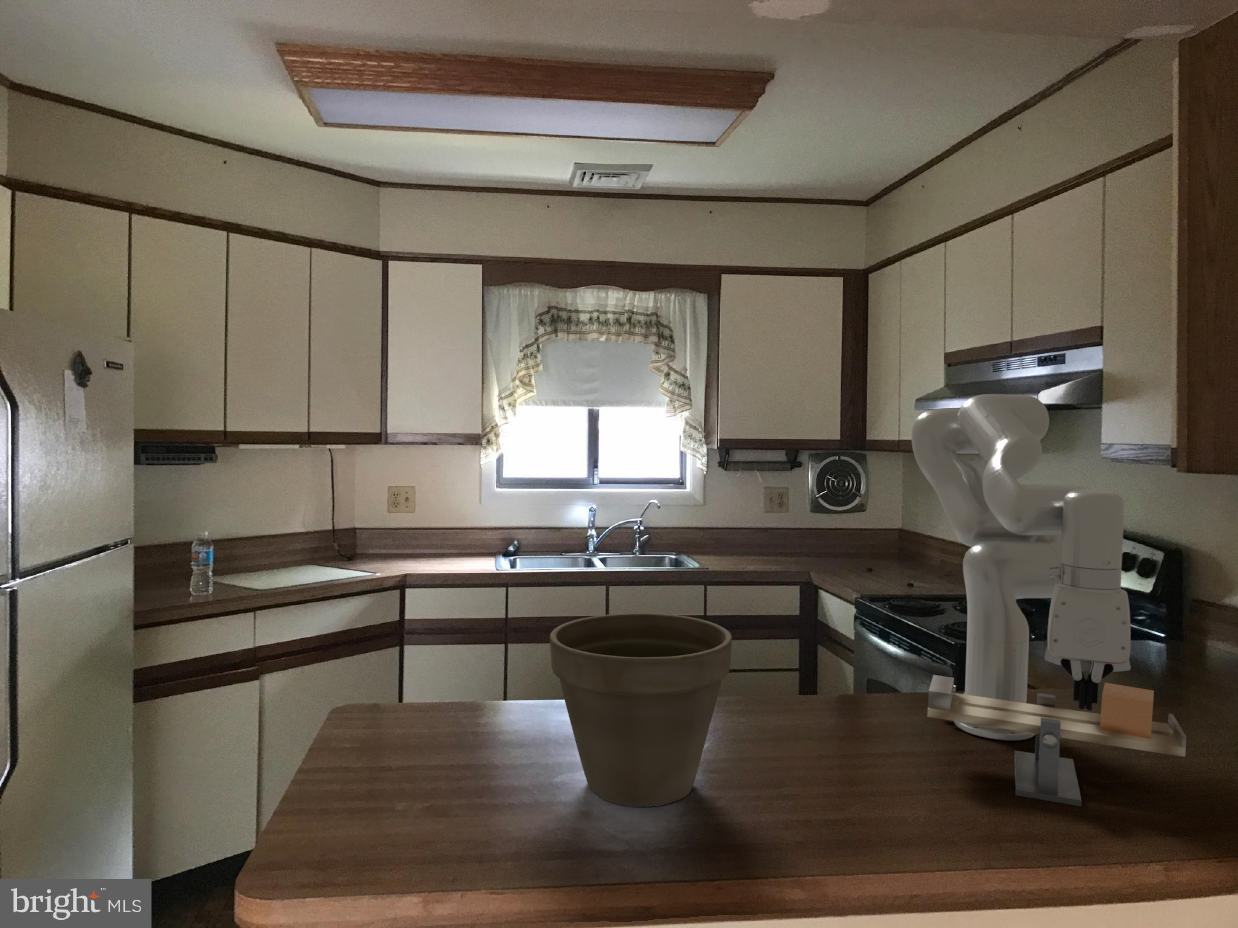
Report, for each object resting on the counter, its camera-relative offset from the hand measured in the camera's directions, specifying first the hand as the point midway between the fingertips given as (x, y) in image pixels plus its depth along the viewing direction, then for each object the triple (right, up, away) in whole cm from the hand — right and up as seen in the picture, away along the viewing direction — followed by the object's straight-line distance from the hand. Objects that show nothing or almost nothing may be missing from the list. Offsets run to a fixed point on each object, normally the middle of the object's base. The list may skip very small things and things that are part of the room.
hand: (1084, 706), depth 123 cm
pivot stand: (-4, -11, +2) cm, 12 cm away
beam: (-4, -3, +2) cm, 6 cm away
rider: (+5, -3, -2) cm, 6 cm away
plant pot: (-63, -11, -2) cm, 64 cm away
